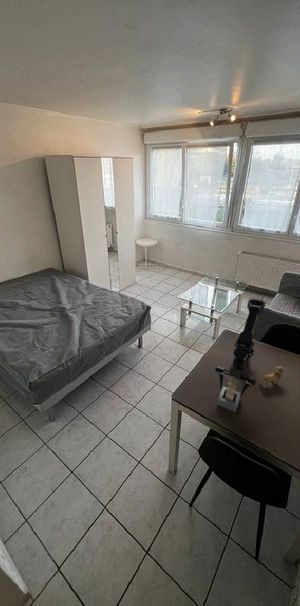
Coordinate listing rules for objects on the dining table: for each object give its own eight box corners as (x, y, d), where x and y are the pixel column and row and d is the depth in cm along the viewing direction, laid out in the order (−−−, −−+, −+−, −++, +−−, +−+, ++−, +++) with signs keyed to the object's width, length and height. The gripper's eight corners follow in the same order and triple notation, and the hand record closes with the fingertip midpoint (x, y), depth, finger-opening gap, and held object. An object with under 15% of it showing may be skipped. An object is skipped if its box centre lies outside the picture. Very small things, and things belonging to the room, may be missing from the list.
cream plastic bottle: (226, 397, 128) (230, 378, 121) (233, 399, 126) (237, 381, 120) (224, 402, 125) (228, 383, 119) (231, 405, 124) (236, 386, 117)
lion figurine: (274, 374, 141) (278, 362, 137) (282, 381, 137) (287, 368, 133) (255, 385, 135) (259, 373, 130) (264, 392, 131) (268, 379, 126)
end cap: (221, 391, 131) (223, 386, 129) (239, 398, 128) (241, 393, 126) (216, 404, 125) (218, 399, 123) (235, 412, 121) (237, 406, 119)
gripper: (218, 353, 121) (208, 385, 118) (260, 366, 113) (250, 401, 110) (220, 355, 131) (211, 385, 128) (259, 368, 123) (250, 400, 120)
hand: (230, 393), depth 121 cm, fingers open, 9 cm apart
